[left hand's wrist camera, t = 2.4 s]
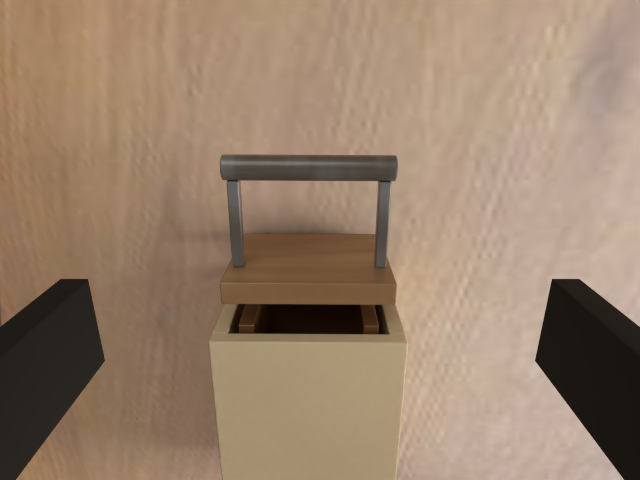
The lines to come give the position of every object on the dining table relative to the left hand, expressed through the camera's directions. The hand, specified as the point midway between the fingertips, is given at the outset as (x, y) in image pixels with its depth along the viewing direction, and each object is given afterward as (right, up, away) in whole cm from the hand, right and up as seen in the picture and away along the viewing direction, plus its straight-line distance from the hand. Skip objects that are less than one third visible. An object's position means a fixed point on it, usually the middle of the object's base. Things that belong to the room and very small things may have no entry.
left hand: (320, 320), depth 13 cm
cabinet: (-1, -7, +21) cm, 22 cm away
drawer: (-1, -2, +17) cm, 18 cm away
